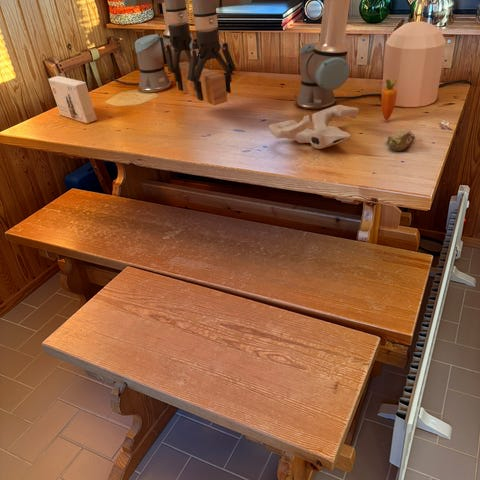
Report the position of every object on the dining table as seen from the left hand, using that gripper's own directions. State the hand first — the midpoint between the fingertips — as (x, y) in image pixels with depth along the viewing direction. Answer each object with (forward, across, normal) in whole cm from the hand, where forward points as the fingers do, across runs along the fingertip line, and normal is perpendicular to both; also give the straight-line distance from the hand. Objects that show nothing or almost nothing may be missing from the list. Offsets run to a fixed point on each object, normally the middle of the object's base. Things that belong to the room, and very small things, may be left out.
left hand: (187, 88), depth 179 cm
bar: (+1, 0, -10) cm, 10 cm away
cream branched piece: (+12, +17, -57) cm, 61 cm away
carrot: (+12, +48, -58) cm, 76 cm away
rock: (+12, +35, -75) cm, 84 cm away
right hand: (-1, 0, -20) cm, 20 cm away
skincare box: (+12, -36, +37) cm, 52 cm away
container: (+12, +72, -47) cm, 87 cm away
